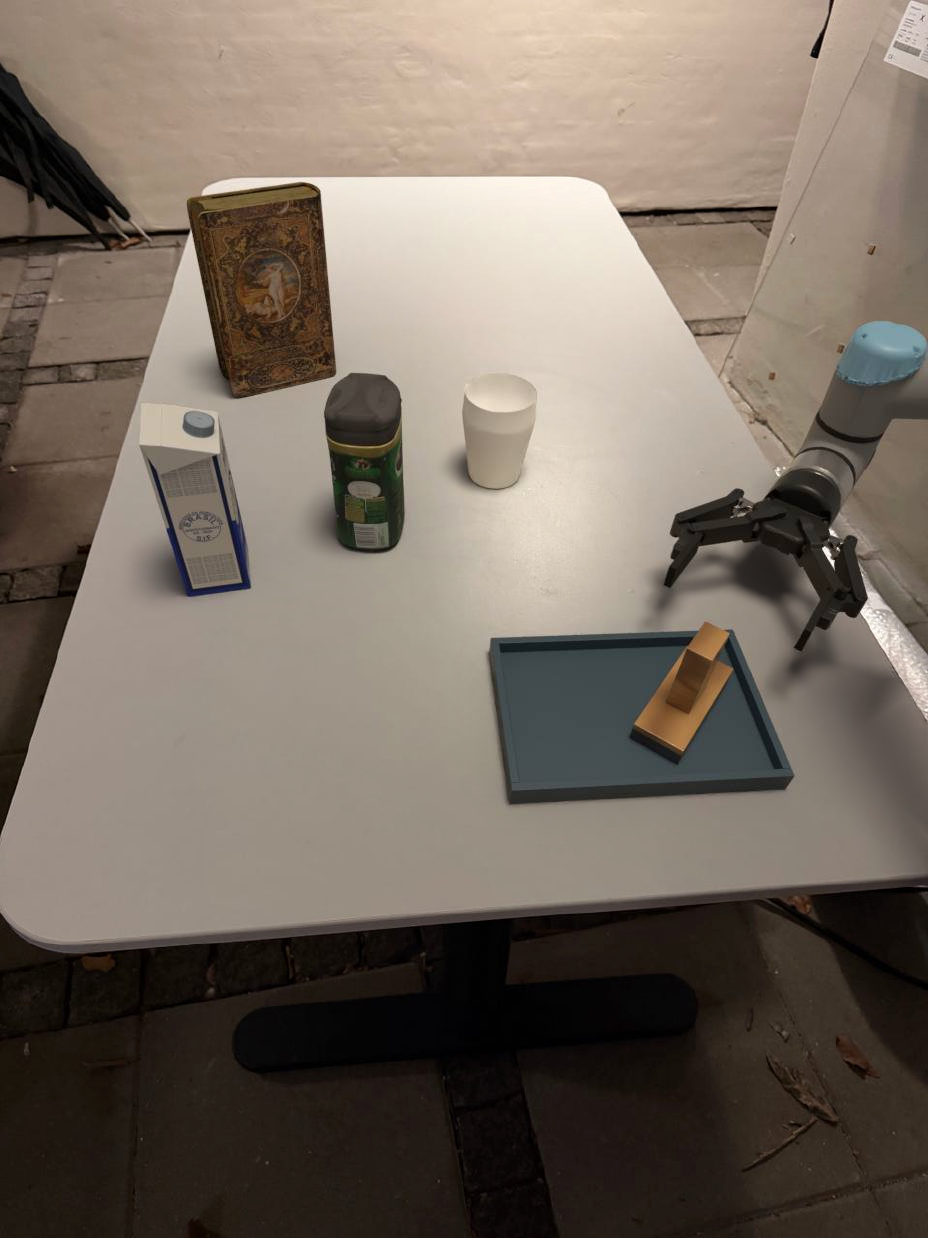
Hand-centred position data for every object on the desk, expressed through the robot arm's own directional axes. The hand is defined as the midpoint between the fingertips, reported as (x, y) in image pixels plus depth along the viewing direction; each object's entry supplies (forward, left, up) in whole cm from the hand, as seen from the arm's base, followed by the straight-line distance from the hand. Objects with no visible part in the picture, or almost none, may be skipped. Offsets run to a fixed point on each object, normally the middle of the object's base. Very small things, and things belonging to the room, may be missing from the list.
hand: (733, 608), depth 74 cm
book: (+57, +48, -9) cm, 75 cm away
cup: (+33, +19, -9) cm, 39 cm away
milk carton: (+16, +52, -9) cm, 55 cm away
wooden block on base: (-6, +5, -8) cm, 11 cm away
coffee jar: (+23, +35, -9) cm, 43 cm away
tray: (-6, +10, -8) cm, 15 cm away
